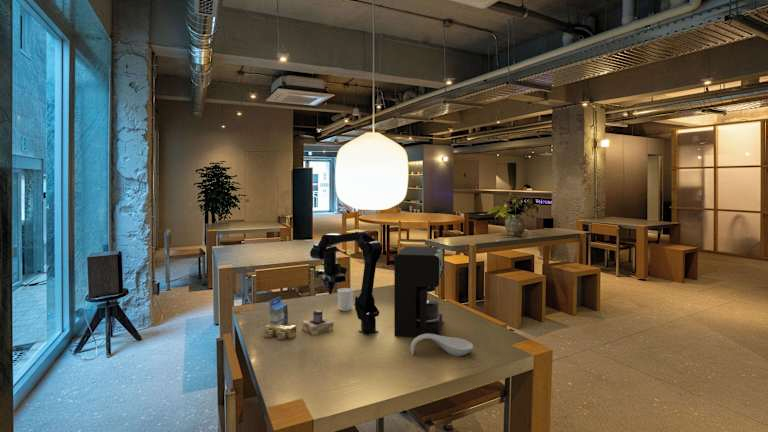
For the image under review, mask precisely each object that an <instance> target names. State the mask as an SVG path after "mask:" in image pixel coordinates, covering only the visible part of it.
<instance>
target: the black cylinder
mask: <svg viewBox="0 0 768 432" xmlns="http://www.w3.org/2000/svg"><path fill="white" fill-rule="evenodd" d="M323 315H324V314H323V310H320V309H319V310H318V309H317V310H313V312H312V316H313V317H312V319H313V324H315V325H316V324H320V323H323Z"/></svg>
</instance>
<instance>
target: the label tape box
mask: <svg viewBox="0 0 768 432" xmlns="http://www.w3.org/2000/svg"><path fill="white" fill-rule="evenodd" d="M281 299H282V296H280V295H279V296H278V297H275V298H274V299H271V300H269V322H270V323H271V324H277V325H284V326H285V324H288V323H289V315H288V314H289V311H288V304H286V303H285V302H283V301H282V300H281ZM270 323H269V324H270Z"/></svg>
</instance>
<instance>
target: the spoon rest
mask: <svg viewBox="0 0 768 432" xmlns="http://www.w3.org/2000/svg"><path fill="white" fill-rule="evenodd" d="M425 339H426V340H427V339H428V340H429V339H430V340H433V342H436V343H437V344H438V345H439V346H440V347H441V348H442V350H444V351H445V352H446V353H447V354H448V355H450V356H454V357H462V356H465V355H468V353H470V352H472V350H473V349H474V345H473V343H472V342H470V341H469V340H466V339H464V338H463V339H462V338H460V337H459V338H458V337H452V336H445V335H436V334H422V335H419V336H417V337H416V338H413V340H412V341H411V343H410V348H409V352H410V354H411V356H413V355H414V354H415V350H416V346H417V345H418V343H419V342H421V341H423V340H425Z"/></svg>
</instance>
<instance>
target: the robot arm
mask: <svg viewBox="0 0 768 432" xmlns="http://www.w3.org/2000/svg"><path fill="white" fill-rule="evenodd" d="M318 242H319V243H318V244H313V245H312V248H311V249H310V251H309V257H310V258H311V259H315V260H323V262H322V263H321V266H323V269H317V270H315V272H314V277H317V278H319V277H320V276H322V277H321V278H320V280H321V281H322V283H323V285H324V287H325V289H326V291H327V293H328V294H329V295H332V294H333V291H334V288H335V285H336V284H337V283H343V282H346V281H347V276H346V275H347V271H348V267H344V266H341V264H340V263H338V262H337V252H340V249H339V248H338V247H337V245H340V244H342V243H348V242H356V244H357V247H358V248H359V249H360V250H361V251H362V253H361V254H362V257H363V260H364V266H363V272H362V273H363V276H362V280H361V281H362V283H361V291H360V294H359V295H356V296H355V299H354V305H353V306H354V309H355V312H356V315H357V319H358V320H360V327H361V328H359V329H358V332H360V333H362V334H364V335H366V336H367V335H368V336H369V335H372V334H375V333H379V329H376V325H377V323H376V321H377V319H376V317H379V315H380V310H379V309H378V307H377V306H376V305H375V297H374V295H373V292H374V291H373V290H374V284H375V283H374V281H375V278H376V277H375V276H376V268H377V262H378V261H379V260H380V258H381V255H382V252H383V245H382V243H381V242H380V241H378V240H377V239H376V238H374V237H372V236H371V235H370V234H368V233H367V232H365V231H364V230H358V231H355V232H349V233H342V234H340V233H336V232H335V233H334V232H332V233H326V234H322V235H321V238H320V241H318Z"/></svg>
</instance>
